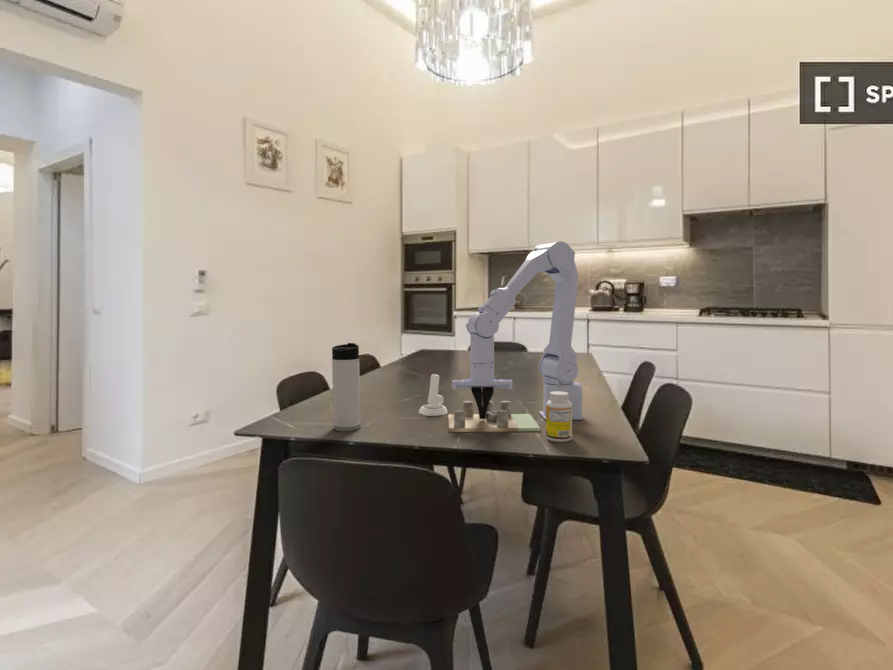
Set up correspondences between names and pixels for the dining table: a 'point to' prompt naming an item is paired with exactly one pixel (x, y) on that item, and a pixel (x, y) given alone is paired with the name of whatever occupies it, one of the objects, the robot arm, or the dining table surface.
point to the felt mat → (525, 422)
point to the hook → (434, 400)
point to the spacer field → (473, 423)
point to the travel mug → (346, 387)
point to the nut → (492, 416)
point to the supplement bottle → (559, 417)
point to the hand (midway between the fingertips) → (482, 418)
